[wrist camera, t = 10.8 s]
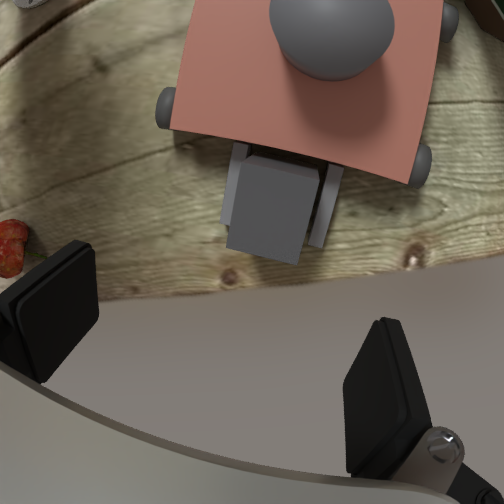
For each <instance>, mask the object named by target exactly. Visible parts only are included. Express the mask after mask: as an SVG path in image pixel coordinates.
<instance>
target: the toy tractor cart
mask: <svg viewBox="0 0 504 504" xmlns="http://www.w3.org/2000/svg"><path fill="white" fill-rule="evenodd" d="M458 20H459V13H458V10H457V8H456V7H454V6H451V5H449V4H447V3H445V2H443V0H195V4H194V8H193V12H192V16H191V20H190V24H189V28H188V33H187V37H186V42H185V46H184V51H183V56H182V60H181V65H180V71H179V76H178V81H177V86H176V88H175V87H166V88H165V89H164V90H163V91H162V92H161V94H160V96H159V98H158V101H157V105H156V113H155V117H156V123H157V125H158V127H159V128H161V129H168V130H175V131H181V130H182V131H188V132H195V133H201V134H207V135H213V136H219V137H224V138H230V139H235V140H240V141H245V142H250V143H255V144H260V145H265V146H269V147H274V148H278V149H283V150H287V151H291V152H296V153H300V154H304V155H308V156H312V157H316V158H320V159H324V160H328V161H331V162H335V163H339V164H342V165H346V166H350V167H353V168H357V169H360V170H363V171H367V172H370V173H374V174H377V175H380V176H383V177H386V178H390V179H393V180H396V181H398V182H399V183H402V184H405V185H408V186H411V187H414V188H417V189H418V188H421V187H422V186H423V184H424V183H425V181H426V179H427V177H428V175H429V172H430V168H431V162H432V153H431V149H430V147H429V146H426V145H424V144H421V143H419V141H420V137H421V133H422V128H423V124H424V120H425V115H426V111H427V106H428V101H429V97H430V92H431V86H432V81H433V76H434V70H435V64H436V58H437V51H438V44H439V40H441V41H443V42H445V43H447V42H449V41H450V40H451V39H452V38H453V36H454V34H455V32H456V29H457V26H458ZM240 141H236V142H234V143H233V149H232V154H231V159H230V165H229V171H228V176H227V182H226V188H225V193H224V199H223V205H222V211H221V217H220V224H225V225H229V226H230V221H231V215H232V210H233V204H234V199H235V193H236V188H237V182H238V177H239V172H240V166H241V162H242V161H244V160H245V159H247V158H248V157H249V154H250V149H251V144H250V143H245V142H240ZM331 162H328V165H327V169H326V173H325V177H324V181H323V185H322V189H321V193H320V197H319V200H318V204H317V208H316V212H315V215H314V219H313V223H312V227H311V230H310V234H309V237H308V245H311V246H315V247H318V248H322V246H323V243H324V239H325V236H326V232H327V229H328V226H329V222H330V219H331V215H332V212H333V208H334V204H335V201H336V197H337V193H338V190H339V186H340V182H341V179H342V175H343V171H344V167H343V166H342V165H339V164H335V163H331Z"/></svg>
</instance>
